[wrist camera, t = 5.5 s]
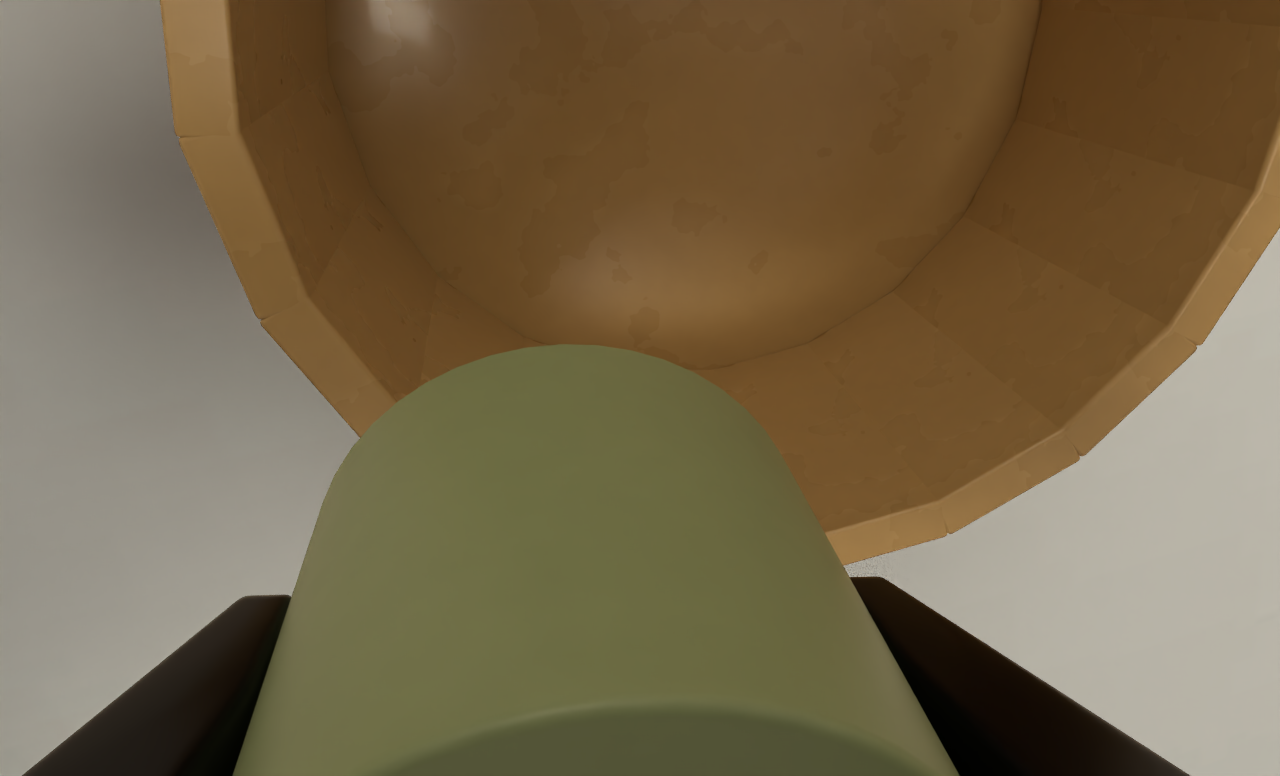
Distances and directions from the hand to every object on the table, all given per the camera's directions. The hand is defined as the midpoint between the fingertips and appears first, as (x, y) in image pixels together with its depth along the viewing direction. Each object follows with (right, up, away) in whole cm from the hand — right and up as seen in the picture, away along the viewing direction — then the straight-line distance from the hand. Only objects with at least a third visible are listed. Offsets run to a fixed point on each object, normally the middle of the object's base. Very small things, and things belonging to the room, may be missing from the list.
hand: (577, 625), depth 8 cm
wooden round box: (+2, +9, +9) cm, 13 cm away
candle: (0, 0, +1) cm, 1 cm away
